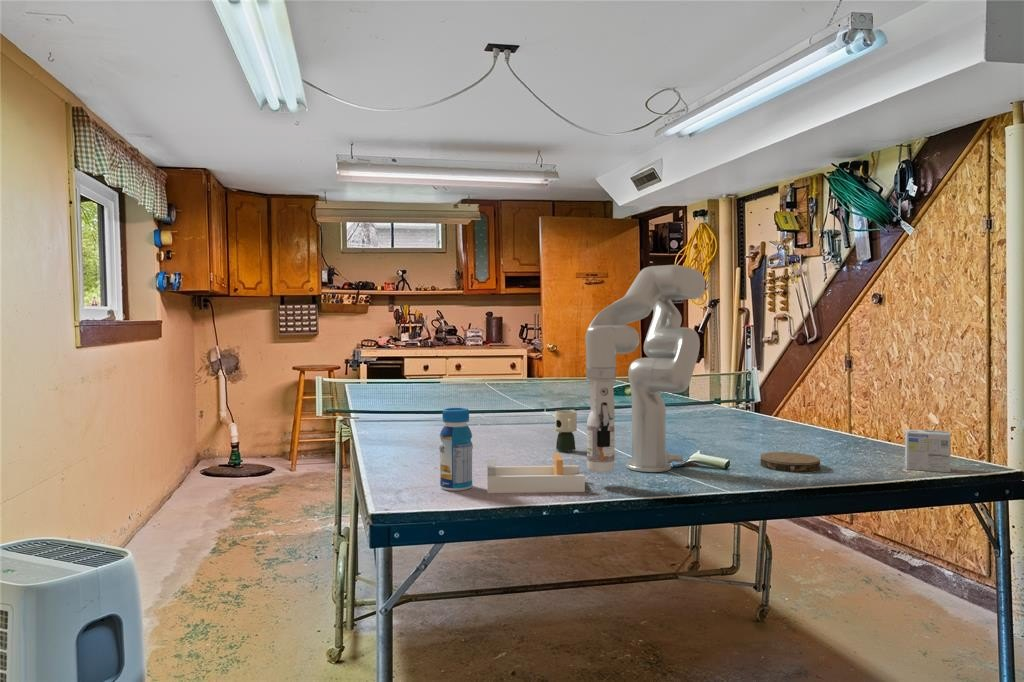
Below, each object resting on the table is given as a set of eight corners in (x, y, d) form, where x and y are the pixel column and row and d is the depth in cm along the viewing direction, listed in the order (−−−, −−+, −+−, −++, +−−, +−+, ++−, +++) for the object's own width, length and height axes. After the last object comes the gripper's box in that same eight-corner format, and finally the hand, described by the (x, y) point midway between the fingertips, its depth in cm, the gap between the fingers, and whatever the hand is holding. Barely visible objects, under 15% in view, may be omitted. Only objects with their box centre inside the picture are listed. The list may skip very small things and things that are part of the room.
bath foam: (599, 474, 164) (599, 393, 164) (581, 468, 170) (581, 391, 170) (619, 470, 168) (620, 392, 168) (601, 465, 174) (601, 389, 174)
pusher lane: (578, 480, 175) (578, 457, 175) (584, 491, 163) (584, 467, 163) (487, 481, 175) (487, 458, 174) (487, 493, 163) (487, 468, 162)
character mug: (550, 448, 220) (550, 409, 219) (571, 447, 221) (571, 409, 221) (559, 455, 209) (559, 414, 209) (581, 454, 211) (581, 413, 210)
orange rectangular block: (559, 476, 173) (559, 453, 173) (563, 484, 165) (563, 460, 165) (553, 476, 173) (553, 453, 173) (556, 484, 165) (556, 460, 165)
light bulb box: (947, 468, 188) (947, 430, 188) (951, 473, 182) (951, 434, 181) (903, 465, 192) (903, 428, 192) (906, 469, 186) (906, 431, 186)
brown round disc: (756, 460, 200) (756, 451, 200) (812, 463, 197) (812, 453, 197) (765, 472, 185) (765, 461, 185) (826, 474, 182) (826, 464, 181)
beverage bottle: (468, 492, 163) (468, 411, 163) (435, 490, 165) (434, 411, 164) (476, 484, 172) (475, 407, 171) (444, 482, 173) (444, 406, 173)
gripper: (622, 377, 160) (622, 450, 160) (609, 371, 177) (609, 438, 178) (591, 377, 160) (591, 450, 160) (581, 372, 177) (581, 438, 178)
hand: (600, 443), depth 169 cm, fingers closed on bath foam, 7 cm apart
